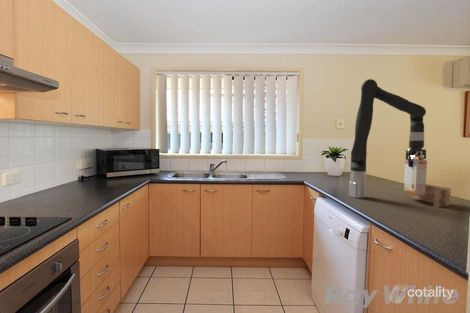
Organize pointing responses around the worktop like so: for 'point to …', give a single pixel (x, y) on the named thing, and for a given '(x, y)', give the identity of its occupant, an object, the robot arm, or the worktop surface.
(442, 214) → the worktop surface
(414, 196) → the book rack
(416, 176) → the cracker box
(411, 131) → the robot arm
